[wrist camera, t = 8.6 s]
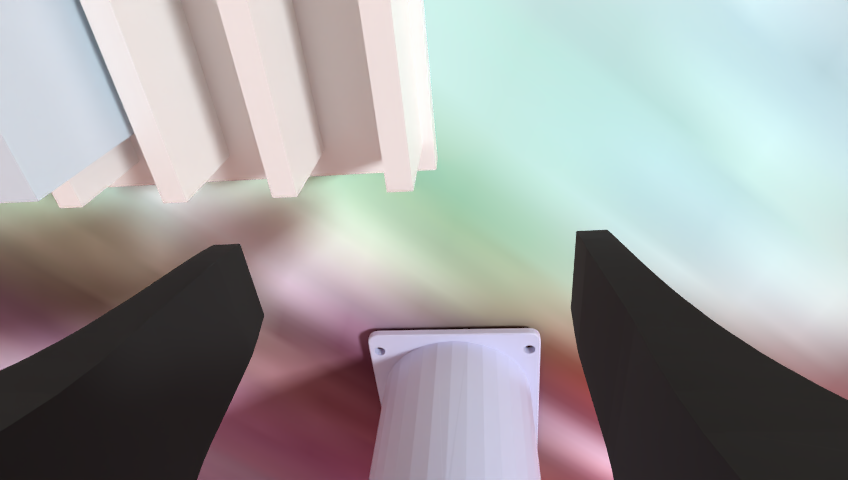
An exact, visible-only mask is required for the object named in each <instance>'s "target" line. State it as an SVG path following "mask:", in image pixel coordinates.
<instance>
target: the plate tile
mask: <svg viewBox="0 0 848 480" xmlns="http://www.w3.org/2000/svg"><path fill="white" fill-rule="evenodd" d="M133 134H134V131H133V128H132V126H131V123H130V121H129V118H128V116H127V114H126V111H125V109H124V106H123V104H122V102H121V99H120V97H119V94H118V92H117V89H116V87H115V85H114V82H113V80H112V77H111V75H110V73H109V70H108V68H107V65H106V63H105V60H104V58H103V56H102V53H101V51H100V48H99V46H98V43H97V41H96V39H95V36H94V34H93V31H92V29H91V27H90V24H89V22H88V19H87V17H86V14H85V12H84V10H83V7H82V5H81V2H80V0H0V203H13V202H34V201H40V200H41V199H42V198H44V197H45V196H47V195H48V194H49V193H51V192H52V191H54V190H55V189H57V188H58V187H59V186H61V185H62V184H64V183H65V182H66V181H68V180H69V179H71V178H72V177H73V176H75V175H76V174H78V173H79V172H80V171H82V170H83V169H85V168H86V167H88V166H89V165H90V164H92V163H93V162H95V161H96V160H97V159H99V158H100V157H102V156H103V155H104V154H106V153H107V152H109V151H110V150H112V149H113V148H114V147H116V146H117V145H119V144H120V143H121V142H123V141H124V140H126V139H127V138H128V137H130V136H131V135H133Z"/></svg>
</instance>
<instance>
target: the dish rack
mask: <svg viewBox="0 0 848 480" xmlns="http://www.w3.org/2000/svg"><path fill="white" fill-rule="evenodd" d="M80 2H81V5H82V7H83V10H84V12H85V14H86V17H87V19H88V22H89V24H90V27H91V29H92V31H93V34H94V36H95V39H96V41H97V43H98V46H99V48H100V51H101V53H102V56H103V58H104V60H105V63H106V65H107V68H108V70H109V73H110V75H111V77H112V80H113V82H114V85H115V87H116V89H117V92H118V94H119V97H120V99H121V102H122V104H123V106H124V109H125V111H126V114H127V116H128V118H129V121H130V123H131V126H132V128H133V131H134V134H133V135H131V136H130V137H128V138H127V139H126V140H124V141H123V142H121V143H120V144H119V145H117V146H116V147H114V148H113V149H112V150H110V151H109V152H107V153H106V154H104V155H103V156H102V157H100V158H99V159H97V160H96V161H95V162H93V163H92V164H90V165H89V166H88V167H86V168H85V169H83V170H82V171H80V172H79V173H78V174H76V175H75V176H73V177H72V178H71V179H69V180H68V181H66V182H65V183H64V184H62V185H61V186H59V187H58V188H57V189H55V190H54V191H52V194H53V196H54V198H55V200H56V202H57V204H58V205H59V207H60V208H76V207H83V206H85V205H86V204H87V203H88V202H90V201H91V200H92V199H93V198H95V197H96V196H97V195H98V194H100V193H101V192H102V191H103V190H105V189H106V188H107V187H120V186H139V185H156V186H157V189H158V191H159V193H160V196H161V198H162V201H163V203H178V202H188V201H189V200H190V199H191V197H192V196H193V195H194V194H195V193H196V192H197V191H198V190H199V189H200V188H201V187H202V186H203V184H204V183H205V182H214V181H233V180H252V179H267V181H268V184H269V188H270V191H271V195H272V198H281V197H297V196H298V195H299V193H300V191H301V189H302V188H303V186H304V184H305V183H306V181H307V179H308V177H309V176H327V175H346V174H364V173H383V172H384V176H385V183H386V189H387V192H404V191H413V190H414V185H415V180H416V175H417V171H421V170H436V167H437V159H438V156H437V145H436V134H435V122H434V111H433V100H432V88H431V77H430V66H429V54H428V43H427V32H426V20H425V9H424V0H80Z"/></svg>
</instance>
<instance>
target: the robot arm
mask: <svg viewBox="0 0 848 480" xmlns="http://www.w3.org/2000/svg"><path fill="white" fill-rule="evenodd" d="M571 312H572V318H573V325H574V331H575V337H576V343H577V349H578V353H579V357H580V360H581V364H582V367H583V370H584V374H585V377H586V381H587V384H588V387H589V391H590V394H591V397H592V401H593V404H594V407H595V411H596V414H597V417H598V421H599V424H600V427H601V431H602V434H603V437H604V441H605V444H606V448H607V452H608V456H609V460H610V464H611V468H612V472H613V477H614V480H848V400H846V399H844V398H842V397H840V396H839V395H837V394H835V393H833V392H831V391H829V390H827V389H825V388H823V387H821V386H819V385H817V384H815V383H814V382H812V381H810V380H808V379H806V378H805V377H803V376H801V375H799V374H797V373H795V372H794V371H792V370H790V369H788V368H786V367H785V366H783V365H781V364H779V363H778V362H776V361H774V360H773V359H771V358H769V357H768V356H766V355H764V354H762V353H761V352H759V351H758V350H756V349H755V348H753V347H752V346H750V345H748V344H747V343H745V342H744V341H742V340H741V339H739V338H738V337H736V336H735V335H733V334H731V333H730V332H728V331H727V330H725V329H724V328H723V327H721V326H720V325H718V324H717V323H715V322H714V321H713V320H711V319H710V318H709V317H707V316H706V315H705V314H703V313H702V312H701V311H699V310H698V309H697V308H695V307H694V306H693V305H692V304H690V303H689V302H688V301H686V300H685V299H684V298H683V297H681V296H680V295H679V294H678V293H676V292H675V291H674V290H673V289H672V288H670V287H669V286H668V285H667V284H666V283H664V282H663V281H662V280H661V279H660V278H659V277H658V276H656V275H655V274H654V273H653V272H652V271H651V270H650V269H649V268H647V267H646V266H645V265H644V264H643V263H642V262H641V261H640V260H639V259H638V258H637V257H636V256H635V255H634V254H632V253H631V252H630V251H629V250H628V249H627V248H626V247H625V246H624V245H623V244H622V243H621V242H620V241H619V240H618V239H617V238H616V237H615V236H614V235H612V234H611V233H610V232H609V231H608V230H593V231H576V245H575V259H574V273H573V287H572V301H571ZM263 318H264V313H263V310H262V307H261V304H260V301H259V298H258V296H257V293H256V290H255V287H254V284H253V281H252V278H251V275H250V272H249V269H248V266H247V263H246V260H245V257H244V254H243V251H242V248H241V246H240V244H228V245H213V246H211V247H209V248H207V249H205V250H204V251H202V252H200V253H199V254H197V255H195V256H194V257H192V258H191V259H189V260H187V261H186V262H184V263H183V264H181V265H180V266H178V267H177V268H175V269H174V270H172V271H171V272H169V273H168V274H166V275H165V276H163V277H162V278H160V279H159V280H157V281H156V282H154V283H153V284H151V285H150V286H148V287H147V288H145V289H144V290H142V291H141V292H139V293H138V294H136V295H135V296H133V297H132V298H130V299H129V300H127V301H125V302H124V303H122V304H120V305H119V306H117V307H116V308H114V309H112V310H111V311H109V312H108V313H106V314H104V315H103V316H101V317H100V318H98V319H96V320H95V321H93V322H92V323H90V324H88V325H87V326H85V327H83V328H82V329H80V330H78V331H76V332H75V333H73V334H71V335H69V336H68V337H66V338H64V339H62V340H60V341H59V342H57V343H55V344H53V345H51V346H49V347H47V348H45V349H43V350H41V351H40V352H38V353H36V354H34V355H32V356H30V357H28V358H26V359H24V360H22V361H20V362H18V363H16V364H14V365H12V366H9V367H7V368H5V369H3V370H1V371H0V480H197V478H198V475H199V472H200V469H201V466H202V464H203V461H204V459H205V457H206V454H207V452H208V449H209V447H210V445H211V442H212V440H213V438H214V436H215V434H216V432H217V430H218V428H219V426H220V423H221V421H222V419H223V417H224V415H225V413H226V411H227V409H228V407H229V404H230V402H231V400H232V398H233V396H234V394H235V392H236V390H237V388H238V385H239V383H240V381H241V379H242V377H243V375H244V372H245V370H246V368H247V366H248V364H249V361H250V359H251V357H252V354H253V351H254V348H255V345H256V342H257V339H258V336H259V332H260V328H261V325H262V321H263ZM368 345H369V350H370V355H371V359H372V364H373V369H374V374H375V379H376V383H377V388H378V393H379V398H380V403H381V407H382V408H381V414H380V419H379V425H378V430H377V436H376V442H375V447H374V453H373V459H372V464H371V470H370V475H369V480H541V477H540V468H539V459H538V451H537V439H538V408H539V378H540V347H541V339H540V334H539V332H538V331H537V330H535V329H532V328H505V329H448V330H392V331H374V332H372V333H371V334H370V336H369V339H368ZM528 345H531V346H532V347H529V348H528V347H526V346H528ZM378 347H380V348H383V349H378Z"/></svg>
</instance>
